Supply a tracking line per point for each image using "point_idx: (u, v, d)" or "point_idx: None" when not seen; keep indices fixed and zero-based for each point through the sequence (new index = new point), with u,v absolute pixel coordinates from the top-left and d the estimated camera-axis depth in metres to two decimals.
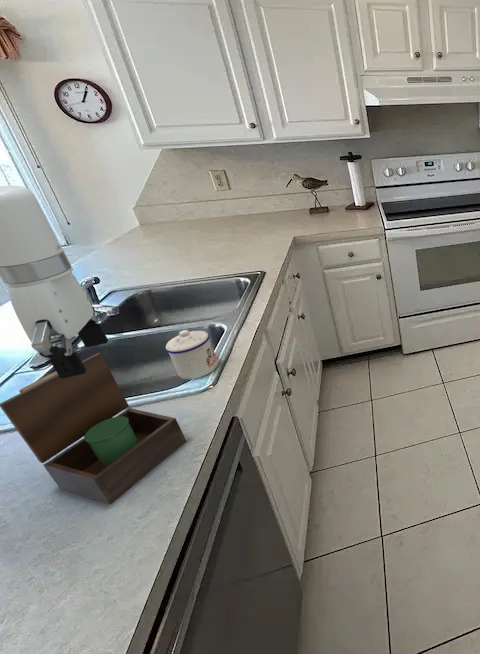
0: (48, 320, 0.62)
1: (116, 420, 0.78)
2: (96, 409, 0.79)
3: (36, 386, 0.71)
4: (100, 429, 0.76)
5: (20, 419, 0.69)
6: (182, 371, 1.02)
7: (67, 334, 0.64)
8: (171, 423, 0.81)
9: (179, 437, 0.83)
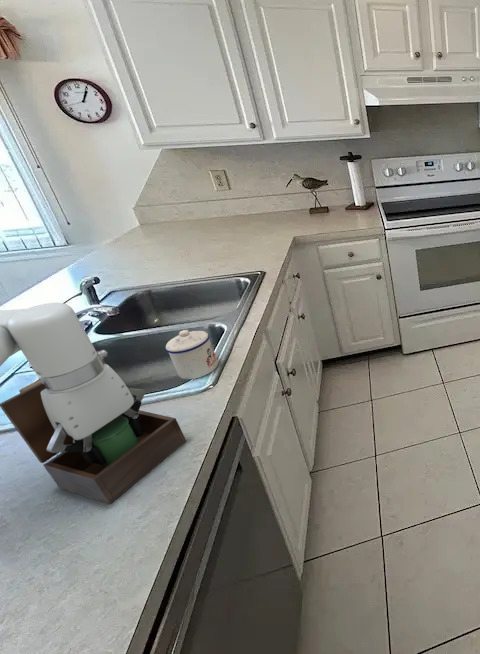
0: (61, 424, 0.69)
1: (116, 420, 0.78)
2: None
3: (36, 386, 0.71)
4: (100, 429, 0.76)
5: (20, 419, 0.69)
6: (182, 371, 1.02)
7: (75, 437, 0.70)
8: (171, 423, 0.81)
9: (179, 437, 0.83)
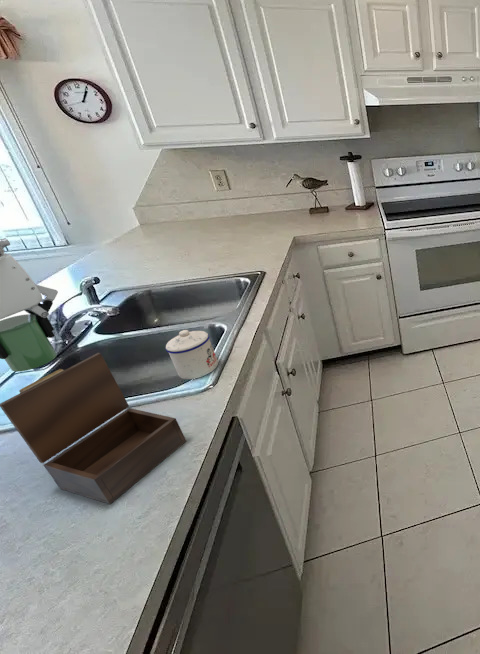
0: None
1: (23, 317, 0.75)
2: (96, 409, 0.79)
3: (36, 386, 0.71)
4: (4, 323, 0.73)
5: (20, 419, 0.69)
6: (182, 371, 1.02)
7: None
8: (171, 423, 0.81)
9: (179, 437, 0.83)
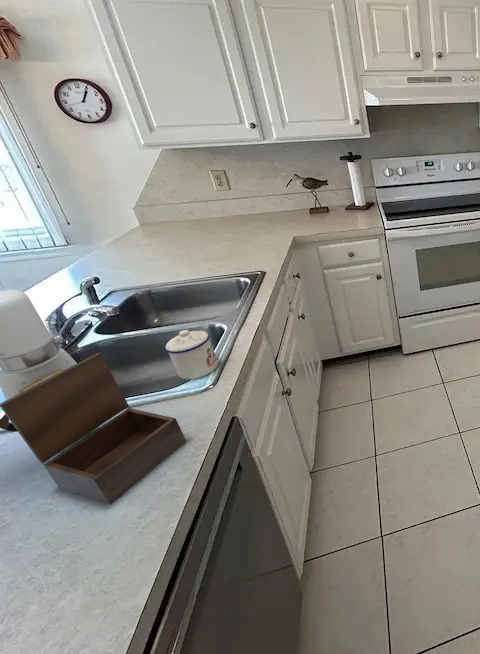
0: None
1: None
2: (96, 409, 0.79)
3: (36, 386, 0.71)
4: None
5: (20, 419, 0.69)
6: (182, 371, 1.02)
7: None
8: (171, 423, 0.81)
9: (179, 437, 0.83)
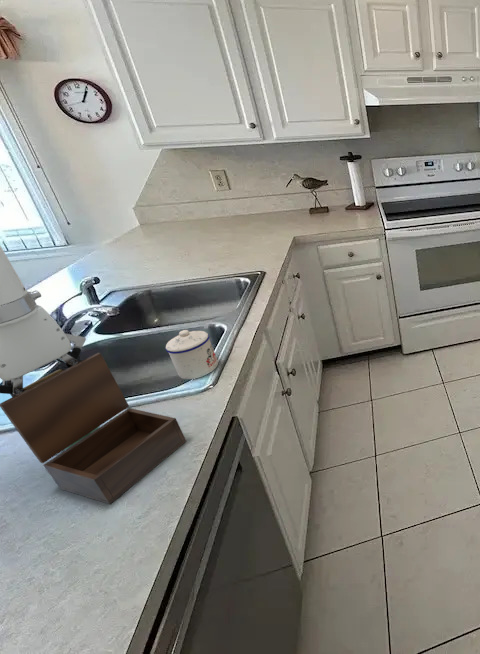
0: None
1: None
2: (96, 409, 0.79)
3: (36, 386, 0.71)
4: None
5: (20, 419, 0.69)
6: (182, 371, 1.02)
7: (3, 377, 0.68)
8: (171, 423, 0.81)
9: (179, 437, 0.83)
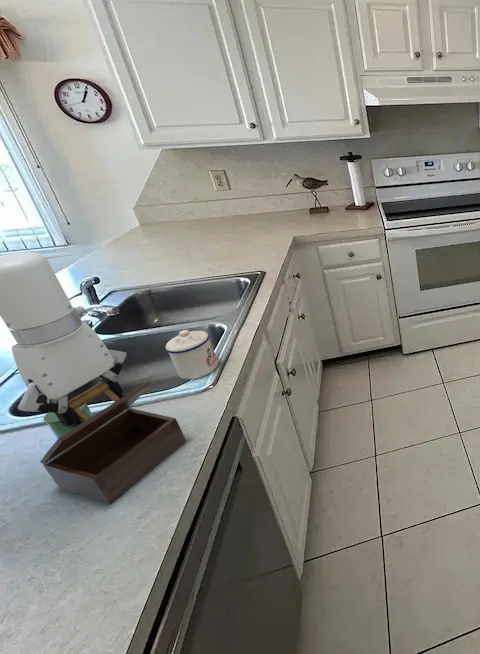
0: (34, 381, 0.65)
1: None
2: (109, 418, 0.79)
3: (93, 419, 0.70)
4: None
5: (62, 444, 0.69)
6: (182, 371, 1.02)
7: (49, 396, 0.66)
8: (171, 423, 0.81)
9: (179, 437, 0.83)
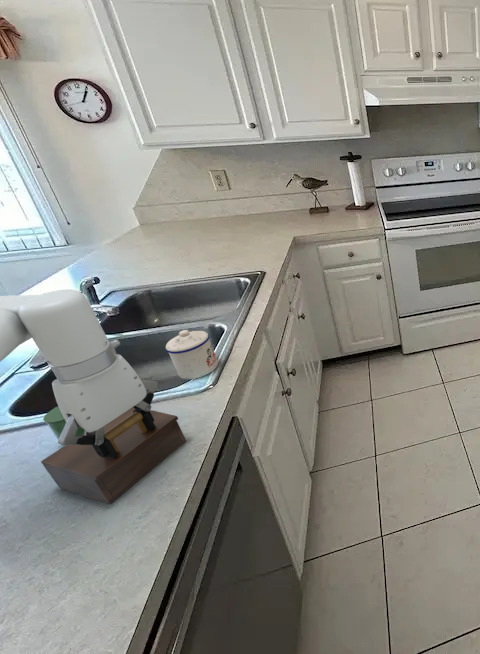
0: (73, 415, 0.67)
1: None
2: None
3: (126, 457, 0.73)
4: (60, 411, 0.82)
5: None
6: (182, 371, 1.02)
7: (87, 429, 0.68)
8: None
9: (179, 437, 0.83)
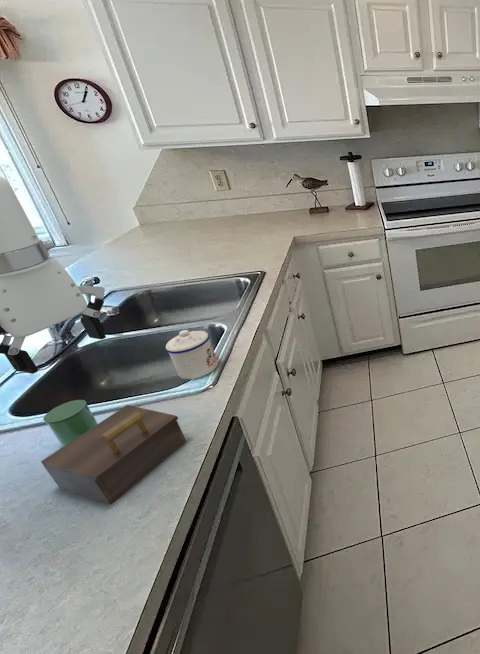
0: None
1: (75, 403, 0.84)
2: None
3: (126, 457, 0.73)
4: (60, 411, 0.82)
5: None
6: (182, 371, 1.02)
7: (13, 333, 0.61)
8: None
9: (179, 437, 0.83)
